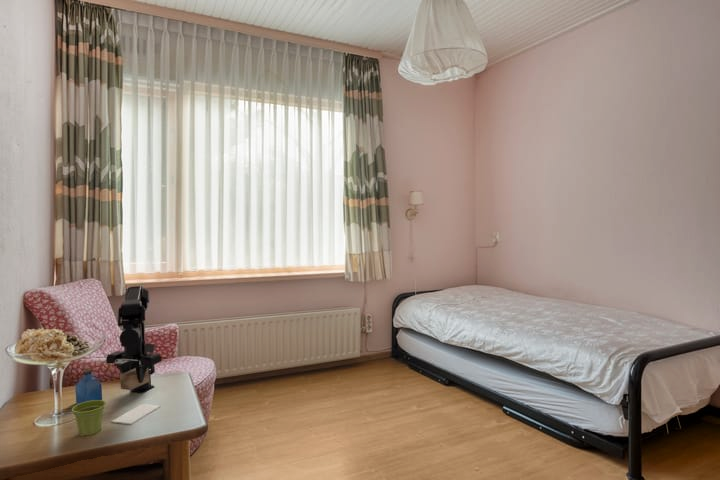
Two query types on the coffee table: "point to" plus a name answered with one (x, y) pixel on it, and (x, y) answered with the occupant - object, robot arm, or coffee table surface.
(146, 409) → the placemat
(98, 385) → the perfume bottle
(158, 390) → the coffee table surface
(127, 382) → the walnut block
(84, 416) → the plant pot
